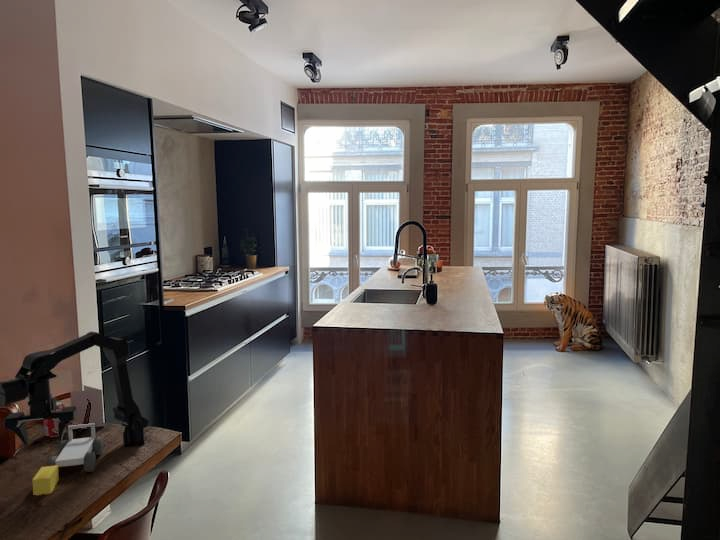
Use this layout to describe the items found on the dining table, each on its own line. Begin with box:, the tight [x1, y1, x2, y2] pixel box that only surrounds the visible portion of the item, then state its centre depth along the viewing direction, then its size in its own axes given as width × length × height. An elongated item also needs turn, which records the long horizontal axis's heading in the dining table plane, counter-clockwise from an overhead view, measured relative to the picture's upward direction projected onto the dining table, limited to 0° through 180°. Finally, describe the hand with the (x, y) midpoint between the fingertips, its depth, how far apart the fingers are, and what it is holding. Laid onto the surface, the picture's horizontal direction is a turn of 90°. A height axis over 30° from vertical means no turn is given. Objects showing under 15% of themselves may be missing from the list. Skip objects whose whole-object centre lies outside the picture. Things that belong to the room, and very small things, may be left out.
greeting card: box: [70, 385, 105, 427], centre depth 197 cm, size 11×7×15 cm, turn 61°
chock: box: [31, 465, 60, 496], centre depth 153 cm, size 4×8×5 cm, turn 15°
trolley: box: [46, 423, 104, 473], centre depth 167 cm, size 18×12×10 cm
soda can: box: [43, 400, 67, 438], centre depth 191 cm, size 7×7×12 cm
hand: (44, 443), depth 157 cm, fingers open, 9 cm apart
